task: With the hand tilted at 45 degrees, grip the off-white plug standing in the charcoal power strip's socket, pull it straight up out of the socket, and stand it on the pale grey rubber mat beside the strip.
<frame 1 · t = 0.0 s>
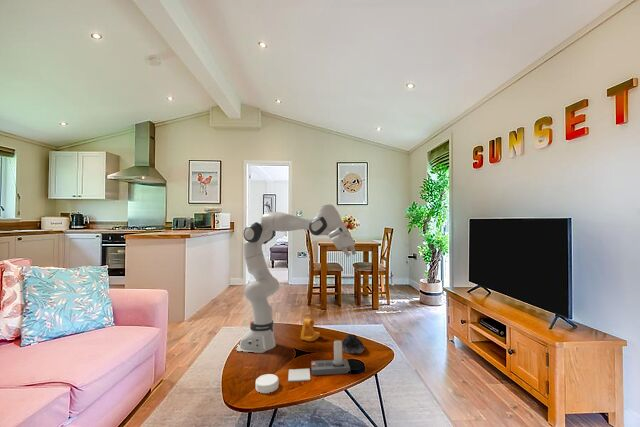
hand: (351, 255, 149), 54 cm above the table, tool tilted 30°, fingers open, 8 cm apart
coaster: (267, 387, 127), on the table
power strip: (330, 369, 141), on the table
bracket: (310, 339, 180), on the table
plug: (338, 369, 141), resting in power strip
mat: (299, 375, 136), on the table
crystal cluster: (352, 350, 163), on the table
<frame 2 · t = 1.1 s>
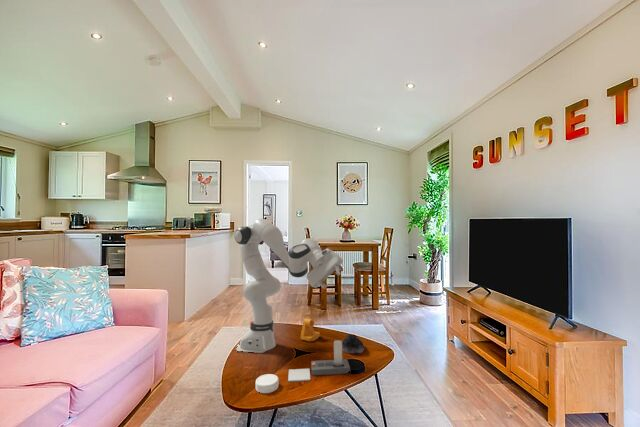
hand: (332, 281, 139), 43 cm above the table, tool tilted 55°, fingers open, 8 cm apart
nothing on the table moved.
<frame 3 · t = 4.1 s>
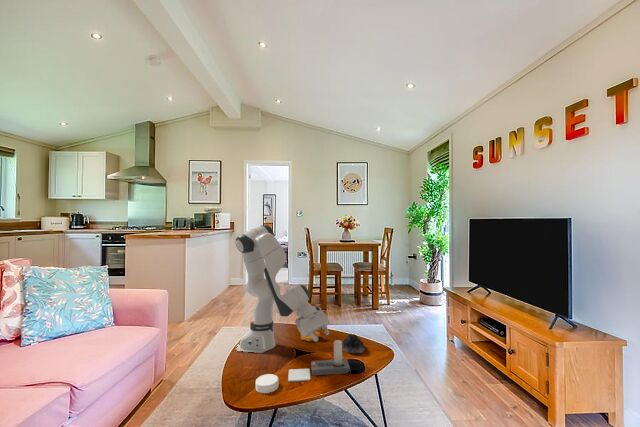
hand: (322, 337, 145), 14 cm above the table, tool tilted 45°, fingers open, 8 cm apart
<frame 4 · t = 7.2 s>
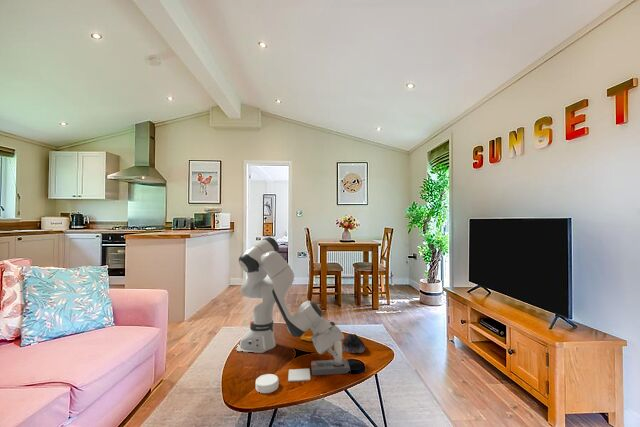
hand: (339, 354, 141), 7 cm above the table, tool tilted 45°, fingers closed on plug, 4 cm apart
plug: (338, 369, 141), resting in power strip, touching gripper
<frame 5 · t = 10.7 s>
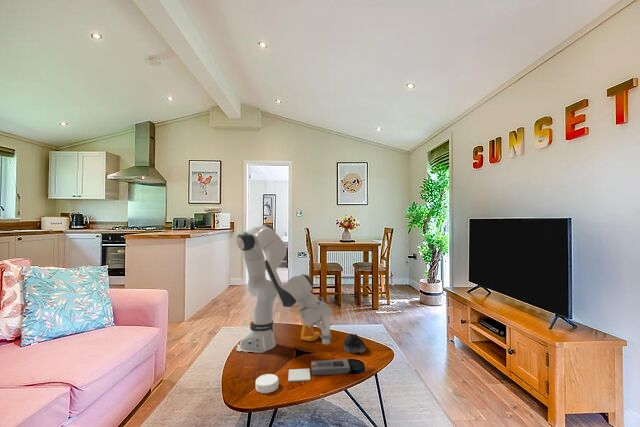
hand: (326, 327, 141), 20 cm above the table, tool tilted 45°, fingers closed on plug, 4 cm apart
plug: (325, 342, 141), point 13 cm above the table, touching gripper
when the fingers open (9 cm above the table, at t = 14.3 s): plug drops 2 cm, resting on mat.
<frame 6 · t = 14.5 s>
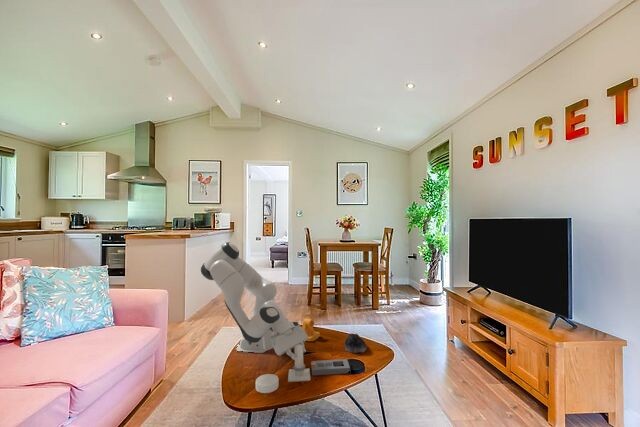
hand: (299, 355, 136), 9 cm above the table, tool tilted 45°, fingers open, 6 cm apart
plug: (299, 374, 136), point 1 cm above the table, touching mat
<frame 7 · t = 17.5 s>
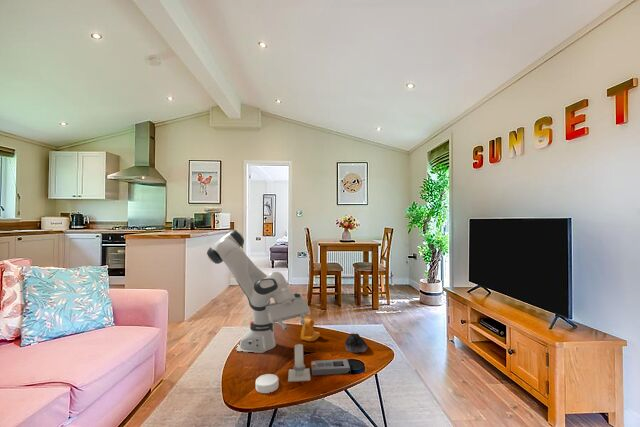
hand: (294, 326, 134), 24 cm above the table, tool tilted 45°, fingers open, 8 cm apart
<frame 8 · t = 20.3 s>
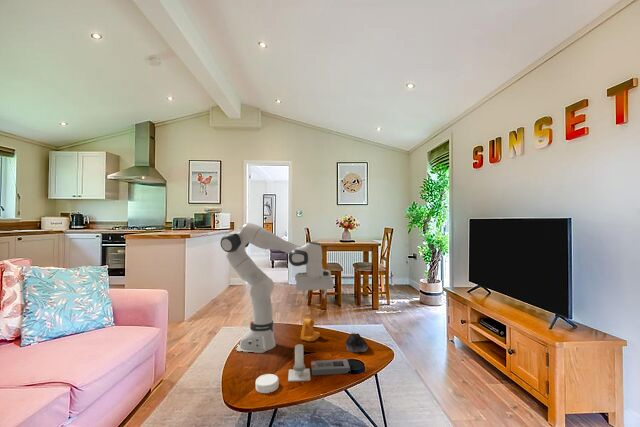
hand: (315, 298, 156), 31 cm above the table, tool pointing down, fingers open, 8 cm apart
at the end: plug inside the target area on the mat (0.1 cm from its centre), point 0.6 cm above the mat's base; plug tilted 1°; the gripper is holding nothing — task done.
